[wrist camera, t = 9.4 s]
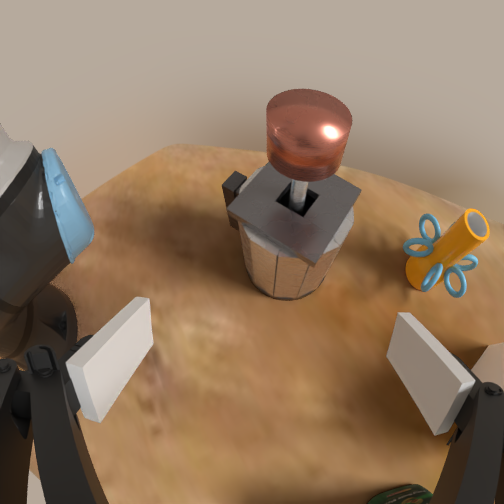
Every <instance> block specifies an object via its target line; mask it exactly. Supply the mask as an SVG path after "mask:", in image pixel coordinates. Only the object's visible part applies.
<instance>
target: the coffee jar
mask: <svg viewBox="0 0 504 504" xmlns="http://www.w3.org/2000/svg"><path fill="white" fill-rule="evenodd" d="M432 496H433V494H432V493H431V492H429V491H428V490H427V489H425V488H424V487H422V486H420V485H417V484H413V485H408V486H403V487H399V488H396V489H393V490H390V491H387V492H384V493H381V494H379V495H377V496H375V497H373V498H372V499H371V500H370V501H369V502H368V504H429V503H430V500H431V498H432Z"/></svg>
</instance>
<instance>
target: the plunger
mask: <svg viewBox="0 0 504 504" xmlns="http://www.w3.org/2000/svg"><path fill="white" fill-rule="evenodd" d="M351 125H352V116H351V113H350V111H349V109H348V108H347V107H346V106H345V105H344V104H343V103H342V102H341V101H340V100H338V99H337V98H335V97H333V96H331V95H329V94H327V93H324V92H321V91H316V90H311V89H293V90H288V91H284V92H282V93H280V94H277V95H276V96H274V97H273V98H272V99H271V100H270V101H269V103H268V105H267V157H268V160H269V162H270V164H271V165H272V166H273V167H274V168H275V169H276V170H277V171H278V172H279V173H281V174H282V175H284V176H286V177H288V178H291V179H292V184H291V192H290V201H289V209H290V210H291V211H293V212H295V213H296V214H298V215H300V216H302V212H303V207H304V202H305V197H306V192H307V187H308V182H315V181H320V180H324V179H326V178H329V177H330V176H332V175H333V174H334V173H335V172H336V171H337V170H338V168H339V166H340V164H341V160H342V157H343V153H344V150H345V147H346V143H347V139H348V136H349V132H350V129H351Z"/></svg>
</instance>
